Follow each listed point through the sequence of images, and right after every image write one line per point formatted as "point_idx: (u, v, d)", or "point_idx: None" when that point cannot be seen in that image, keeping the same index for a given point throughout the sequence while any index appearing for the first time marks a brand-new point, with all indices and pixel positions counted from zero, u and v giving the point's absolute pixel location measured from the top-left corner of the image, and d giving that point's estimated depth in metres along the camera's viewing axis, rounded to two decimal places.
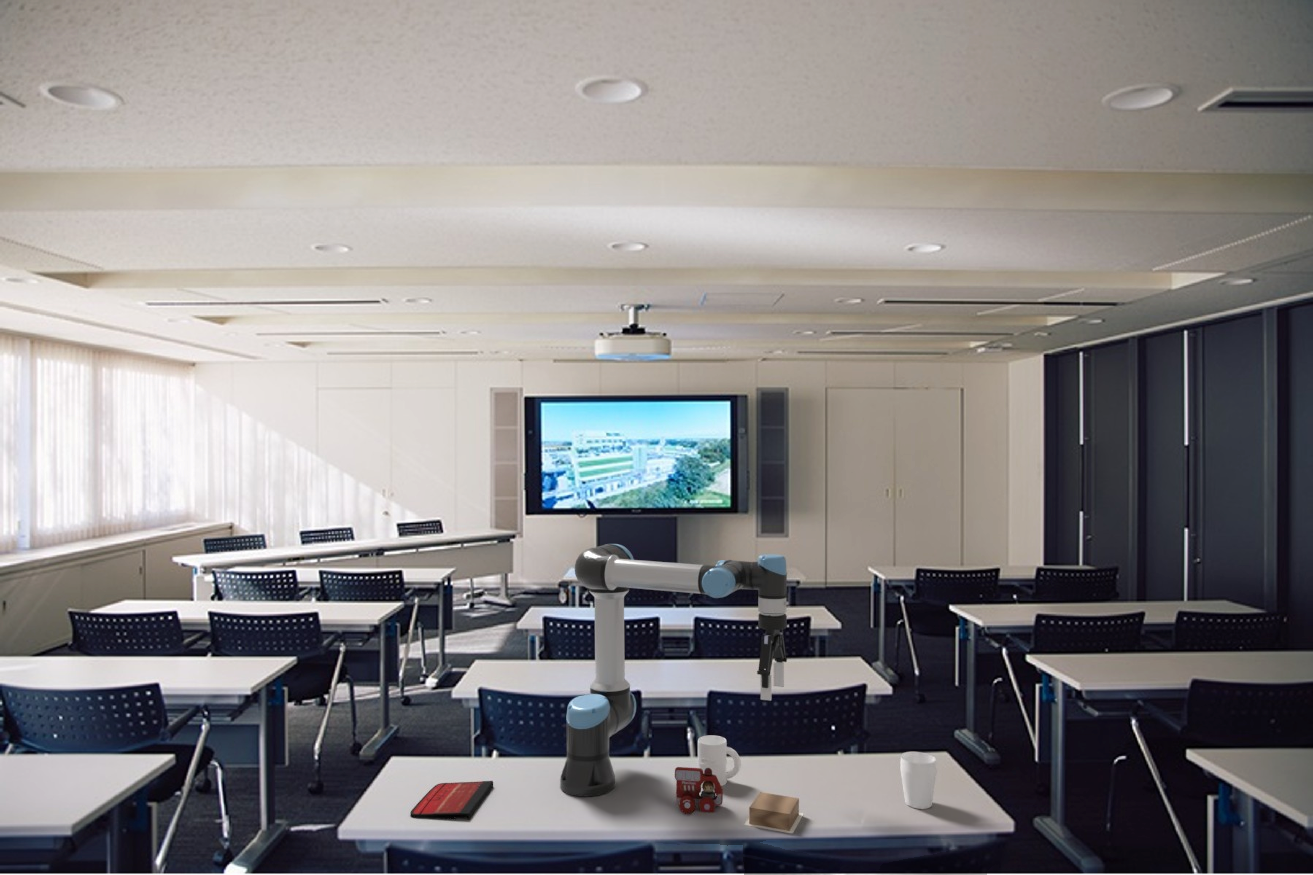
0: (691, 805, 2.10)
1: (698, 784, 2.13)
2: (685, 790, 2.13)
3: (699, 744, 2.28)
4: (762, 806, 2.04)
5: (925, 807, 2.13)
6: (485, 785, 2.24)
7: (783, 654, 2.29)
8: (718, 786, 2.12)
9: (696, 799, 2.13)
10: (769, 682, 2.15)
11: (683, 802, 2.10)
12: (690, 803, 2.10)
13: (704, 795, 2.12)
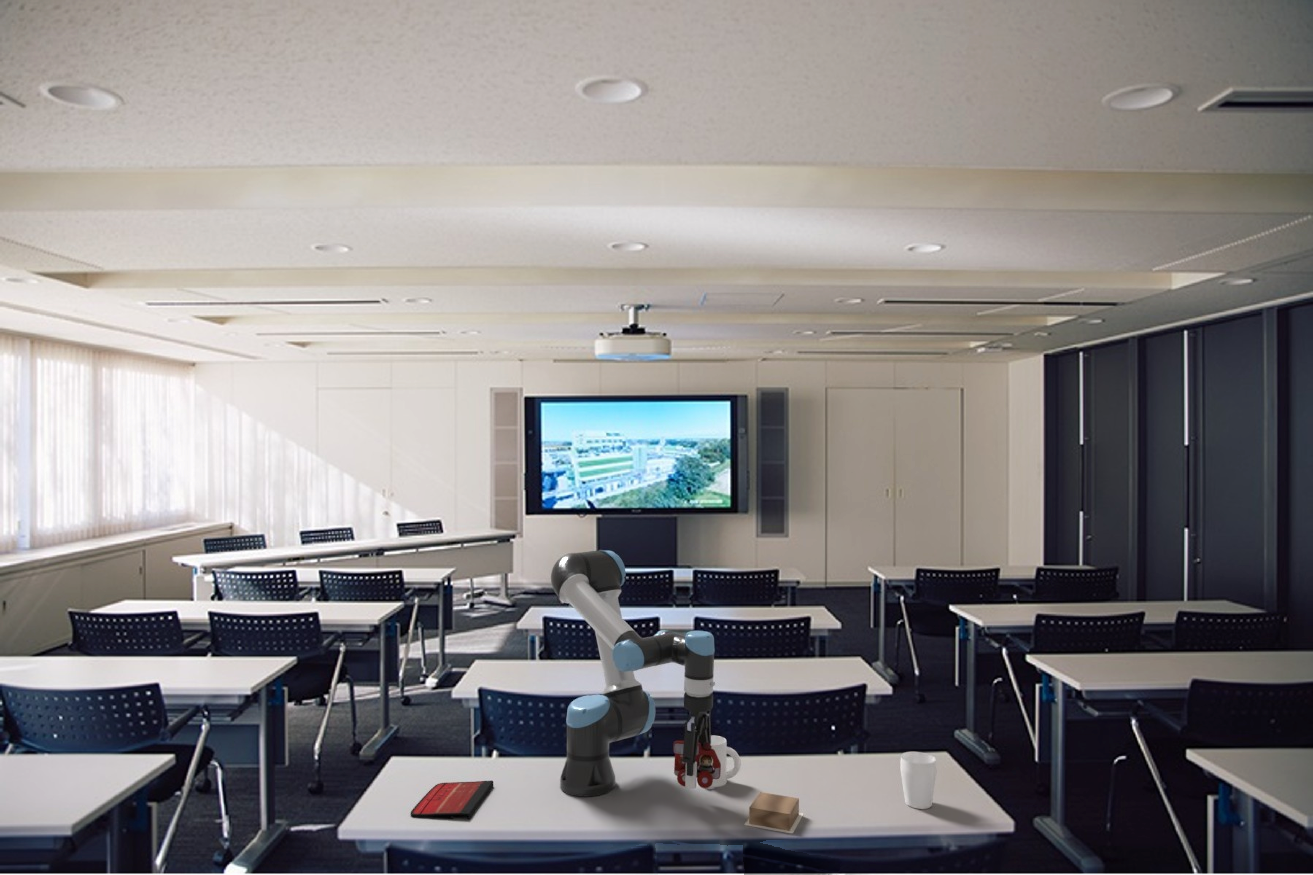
0: None
1: (696, 758, 2.13)
2: (683, 763, 2.14)
3: None
4: (762, 806, 2.04)
5: (925, 807, 2.13)
6: (485, 785, 2.24)
7: (708, 741, 2.19)
8: (716, 760, 2.13)
9: None
10: (694, 770, 2.09)
11: (681, 776, 2.11)
12: None
13: (702, 769, 2.13)
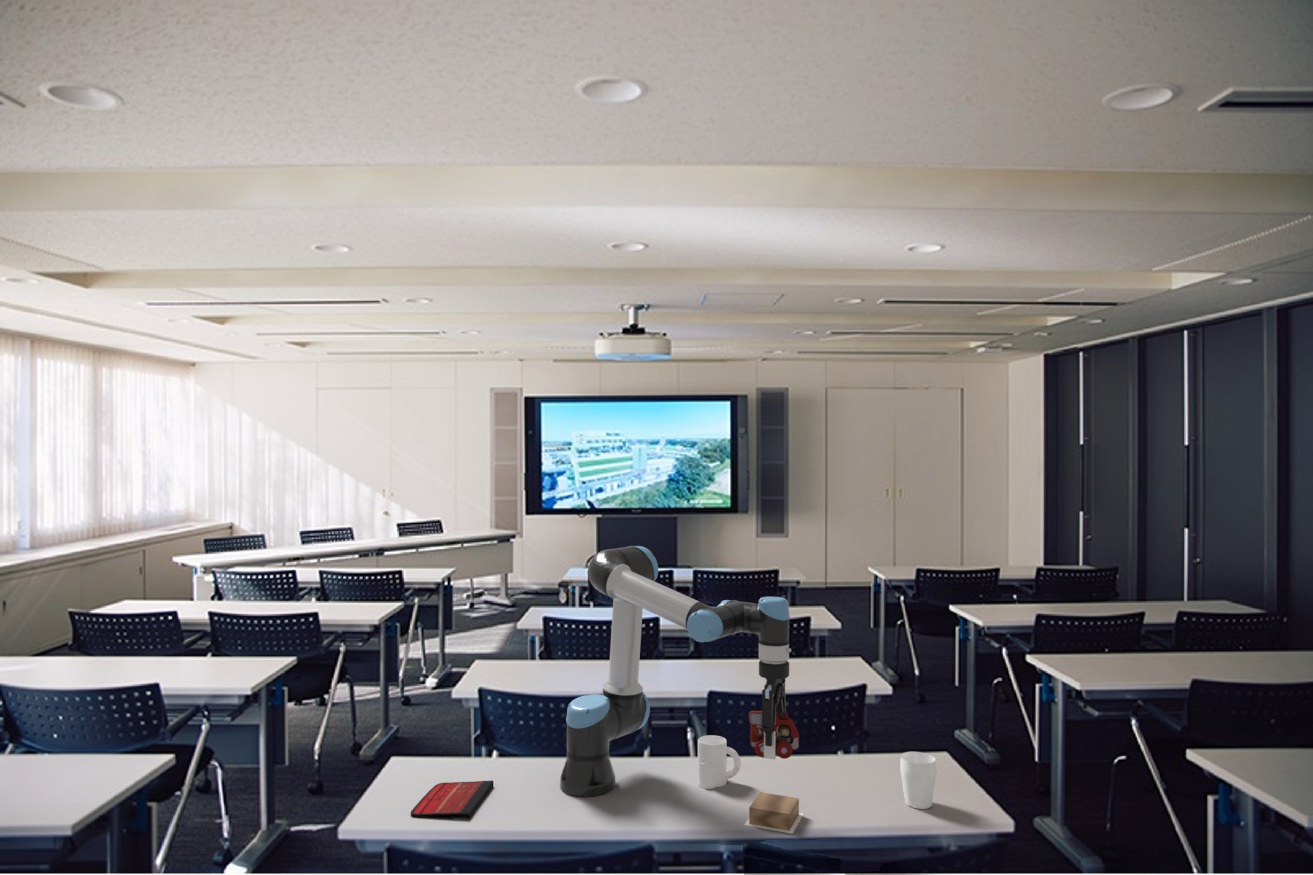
0: None
1: (774, 728, 2.06)
2: (760, 734, 2.06)
3: (699, 744, 2.28)
4: (762, 806, 2.04)
5: (925, 807, 2.13)
6: (485, 785, 2.24)
7: None
8: (794, 730, 2.05)
9: None
10: (773, 740, 2.01)
11: (759, 746, 2.03)
12: None
13: (780, 739, 2.05)
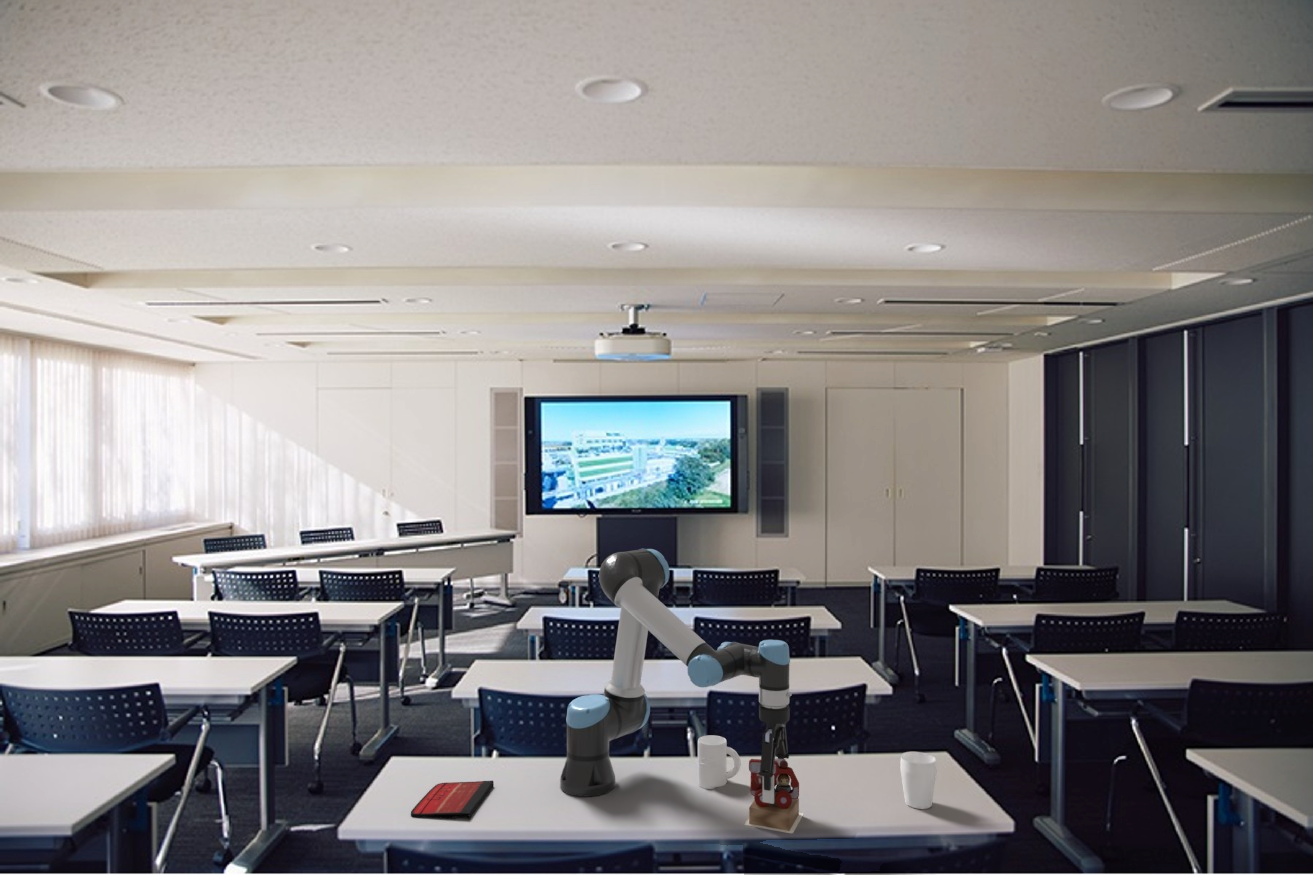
0: None
1: None
2: (760, 783, 2.06)
3: (699, 744, 2.28)
4: None
5: (925, 807, 2.13)
6: (485, 785, 2.24)
7: (785, 749, 2.13)
8: (794, 779, 2.05)
9: None
10: (772, 784, 2.00)
11: (759, 796, 2.03)
12: None
13: (780, 788, 2.04)
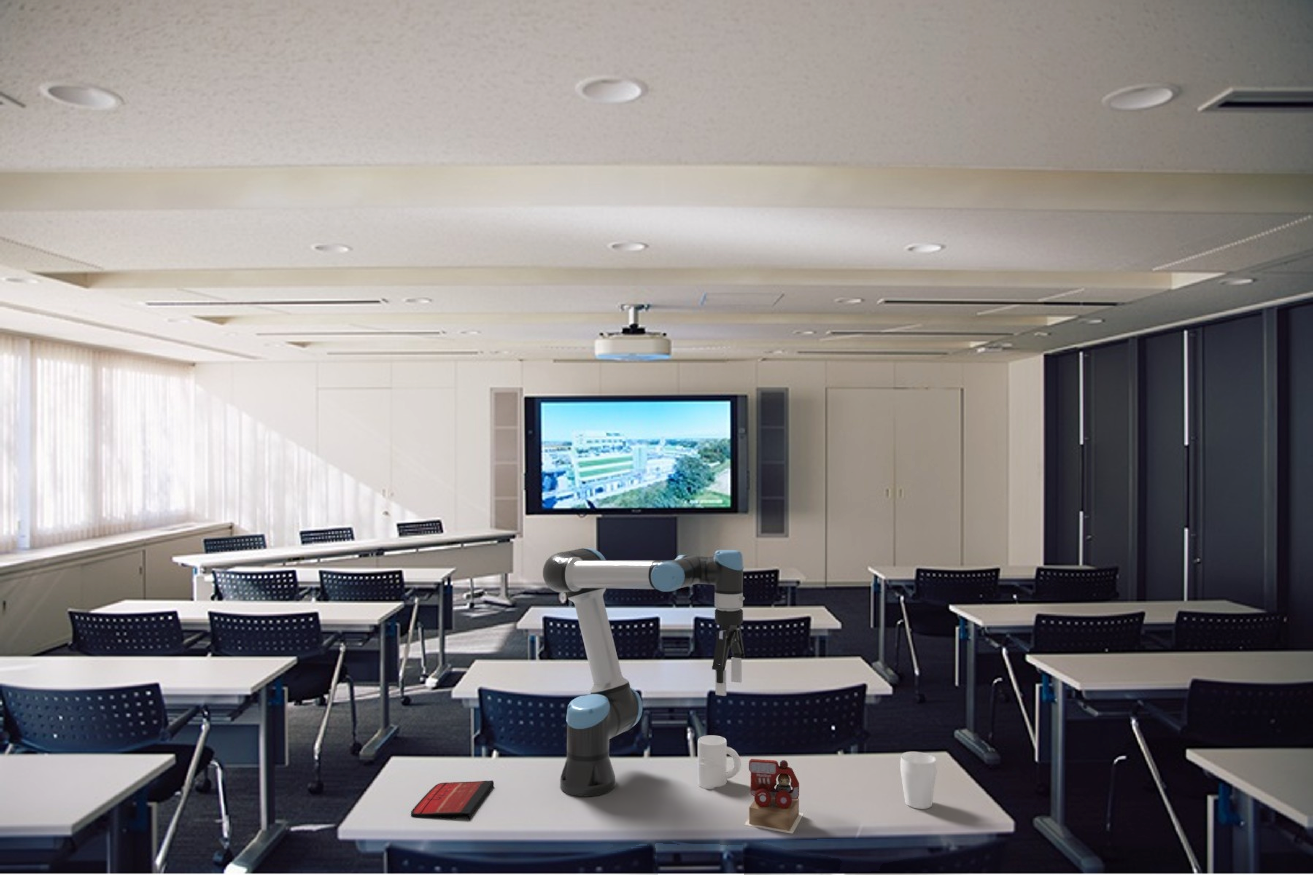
0: (766, 799, 2.03)
1: (773, 777, 2.05)
2: (760, 783, 2.06)
3: (699, 744, 2.28)
4: None
5: (925, 807, 2.13)
6: (485, 785, 2.24)
7: (741, 650, 2.29)
8: (794, 779, 2.05)
9: (771, 792, 2.05)
10: (724, 677, 2.14)
11: (759, 796, 2.03)
12: (766, 796, 2.03)
13: (780, 788, 2.04)
